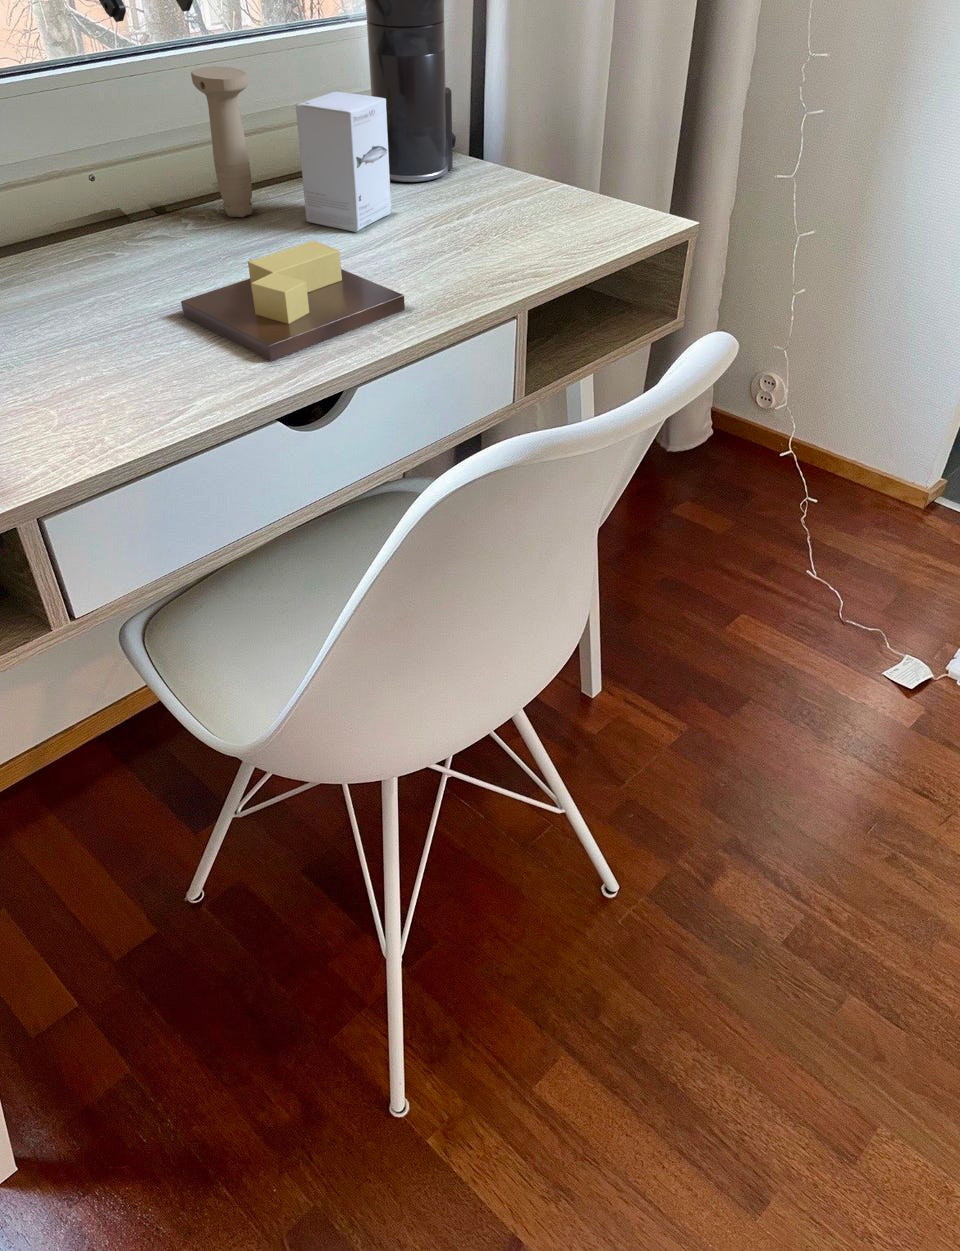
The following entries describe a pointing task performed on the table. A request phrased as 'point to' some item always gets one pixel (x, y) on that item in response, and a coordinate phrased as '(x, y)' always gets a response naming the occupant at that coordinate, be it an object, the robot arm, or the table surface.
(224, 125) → the handle
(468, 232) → the table surface
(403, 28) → the robot arm
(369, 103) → the white packaging box
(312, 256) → the butter stick
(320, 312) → the board
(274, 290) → the butter pat
